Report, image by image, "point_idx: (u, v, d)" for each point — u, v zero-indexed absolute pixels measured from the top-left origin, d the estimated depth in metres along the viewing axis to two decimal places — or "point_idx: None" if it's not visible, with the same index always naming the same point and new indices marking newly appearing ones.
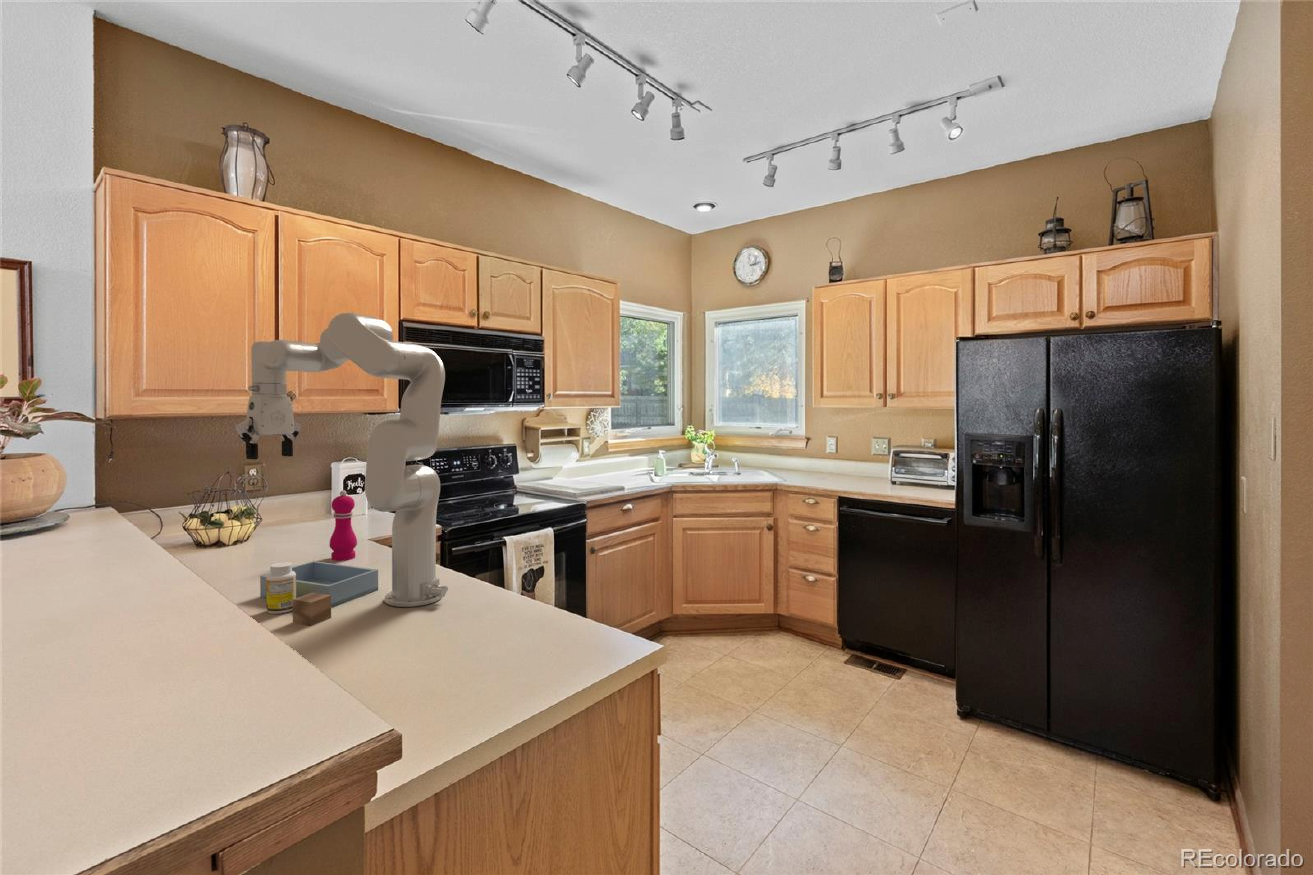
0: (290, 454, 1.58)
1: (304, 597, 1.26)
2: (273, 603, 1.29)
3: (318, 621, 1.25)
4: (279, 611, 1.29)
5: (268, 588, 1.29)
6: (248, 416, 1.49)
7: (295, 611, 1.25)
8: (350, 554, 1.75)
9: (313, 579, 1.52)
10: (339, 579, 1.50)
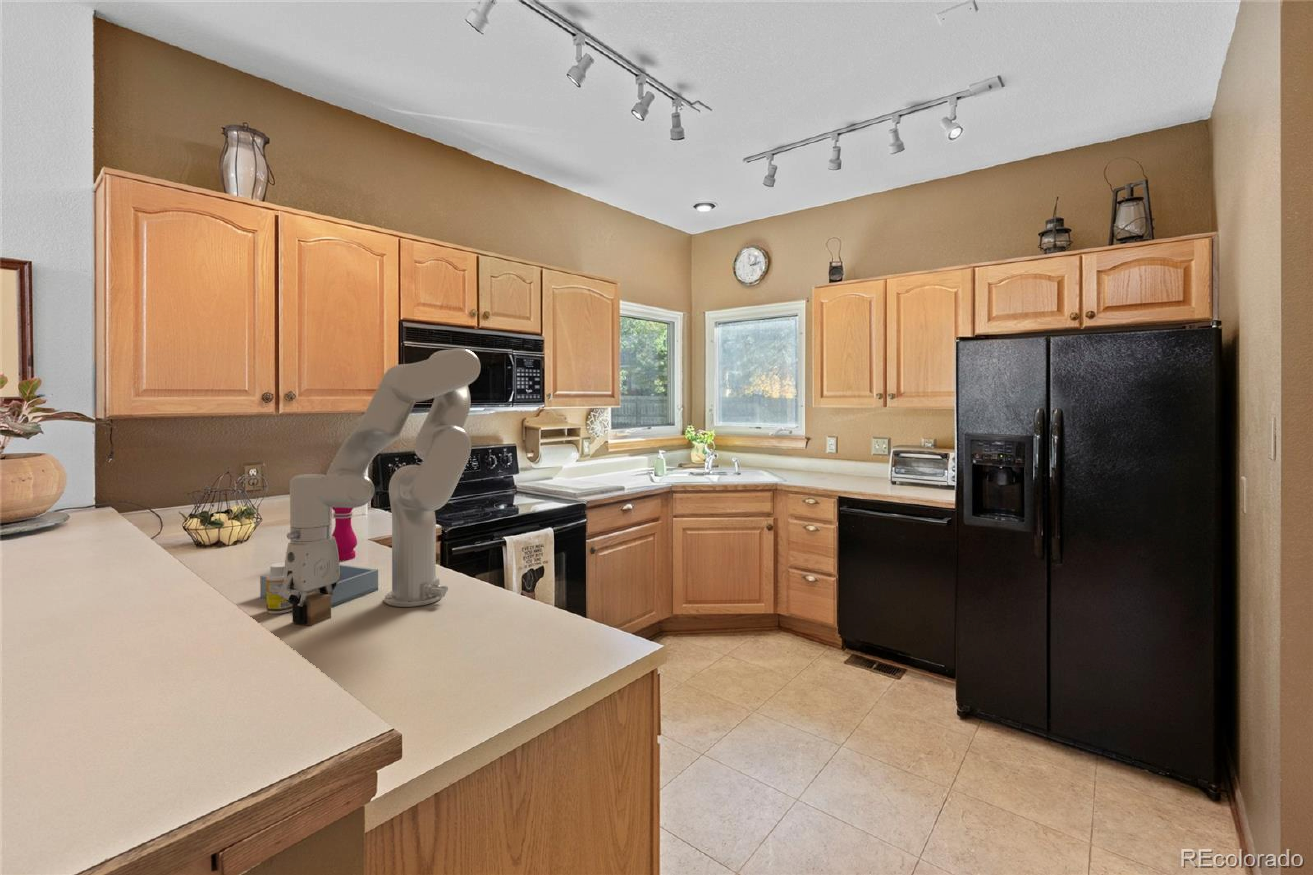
0: None
1: None
2: (273, 603, 1.29)
3: (318, 621, 1.25)
4: (279, 611, 1.29)
5: (268, 588, 1.29)
6: (286, 569, 1.21)
7: None
8: (350, 554, 1.75)
9: None
10: None
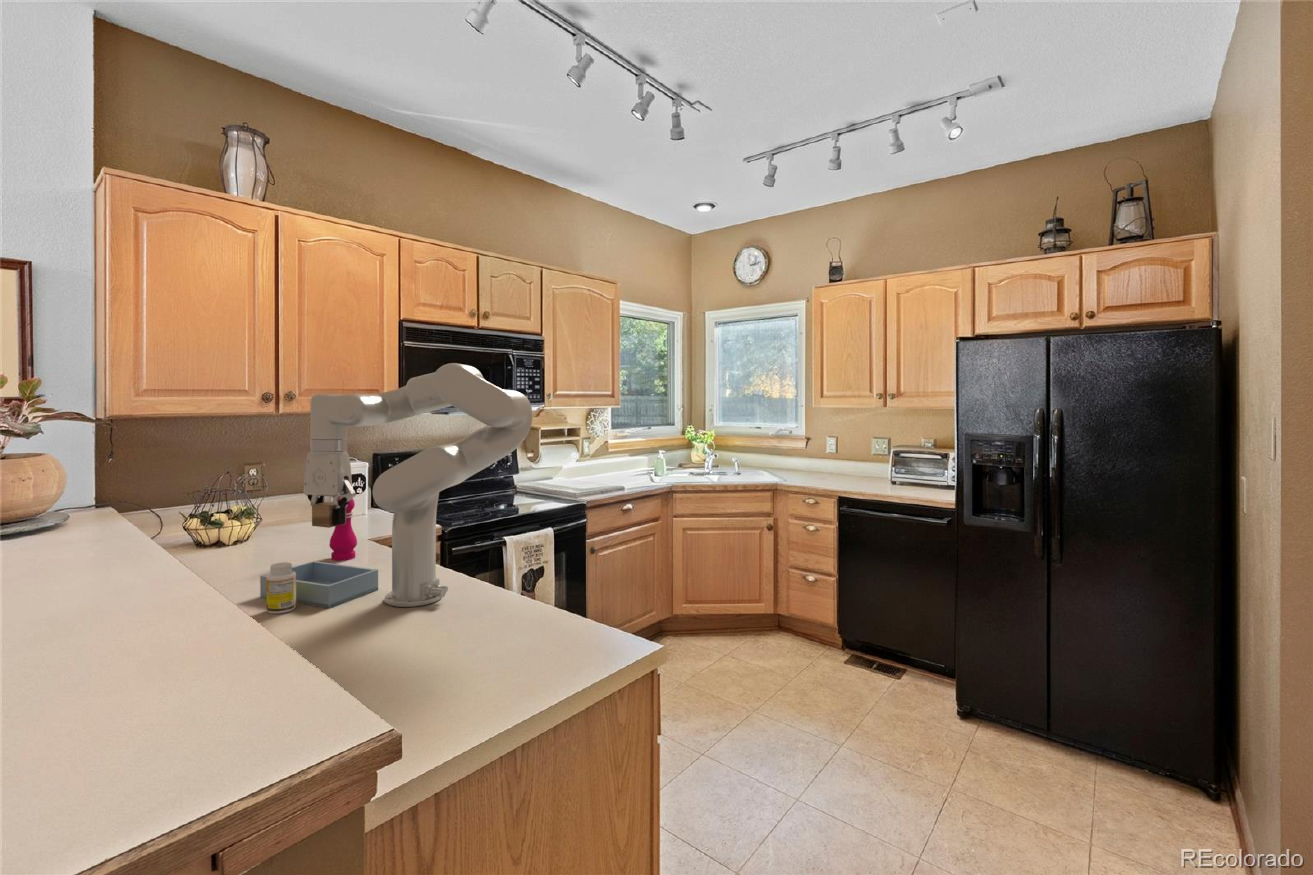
0: None
1: (331, 502, 1.43)
2: (273, 603, 1.29)
3: (318, 524, 1.39)
4: (279, 611, 1.29)
5: (268, 588, 1.29)
6: None
7: None
8: (350, 554, 1.75)
9: (313, 579, 1.52)
10: (339, 579, 1.50)
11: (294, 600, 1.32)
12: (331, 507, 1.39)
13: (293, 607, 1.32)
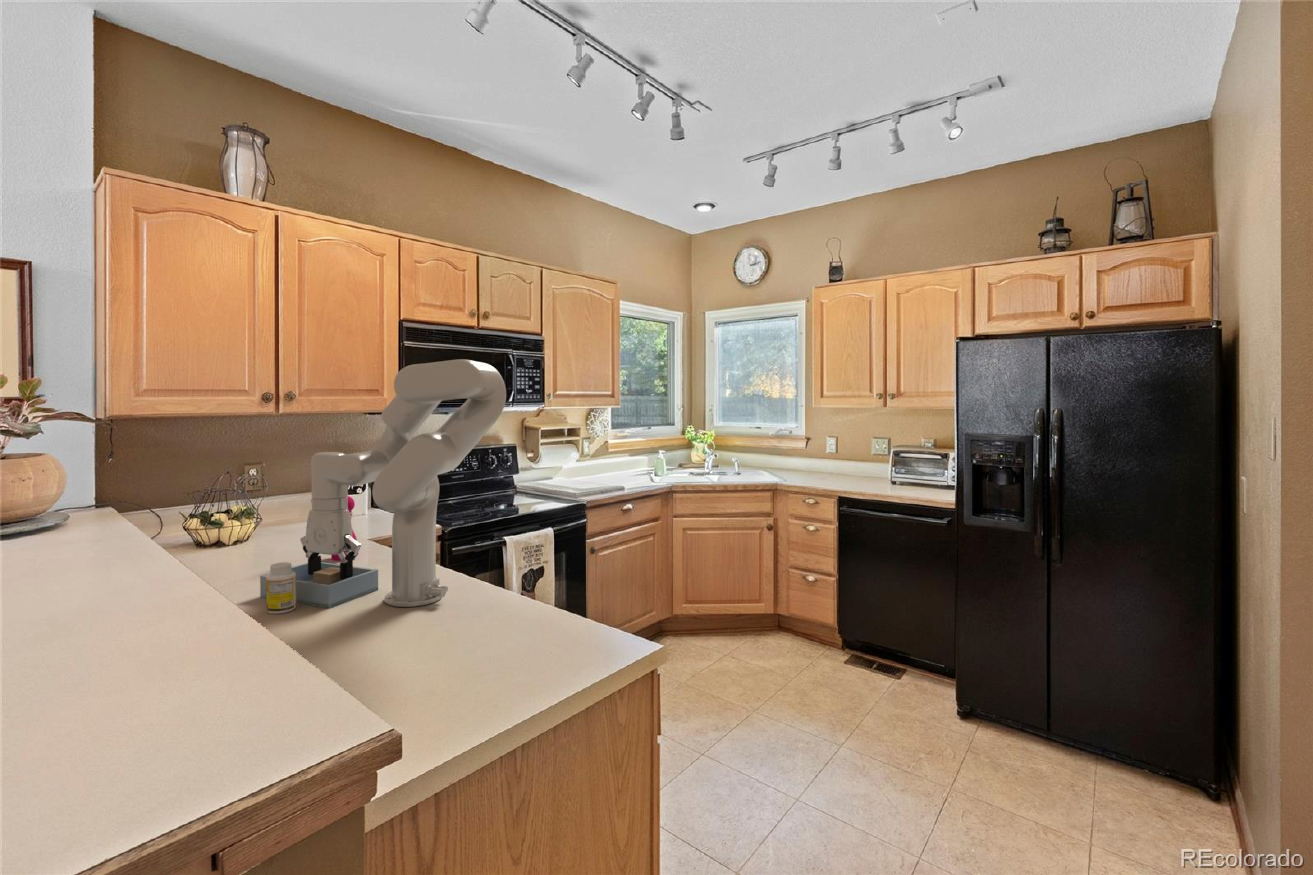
0: None
1: (332, 569, 1.44)
2: (273, 603, 1.29)
3: None
4: (279, 611, 1.29)
5: (268, 588, 1.29)
6: None
7: None
8: None
9: None
10: None
11: (294, 600, 1.32)
12: (332, 575, 1.40)
13: (293, 607, 1.32)
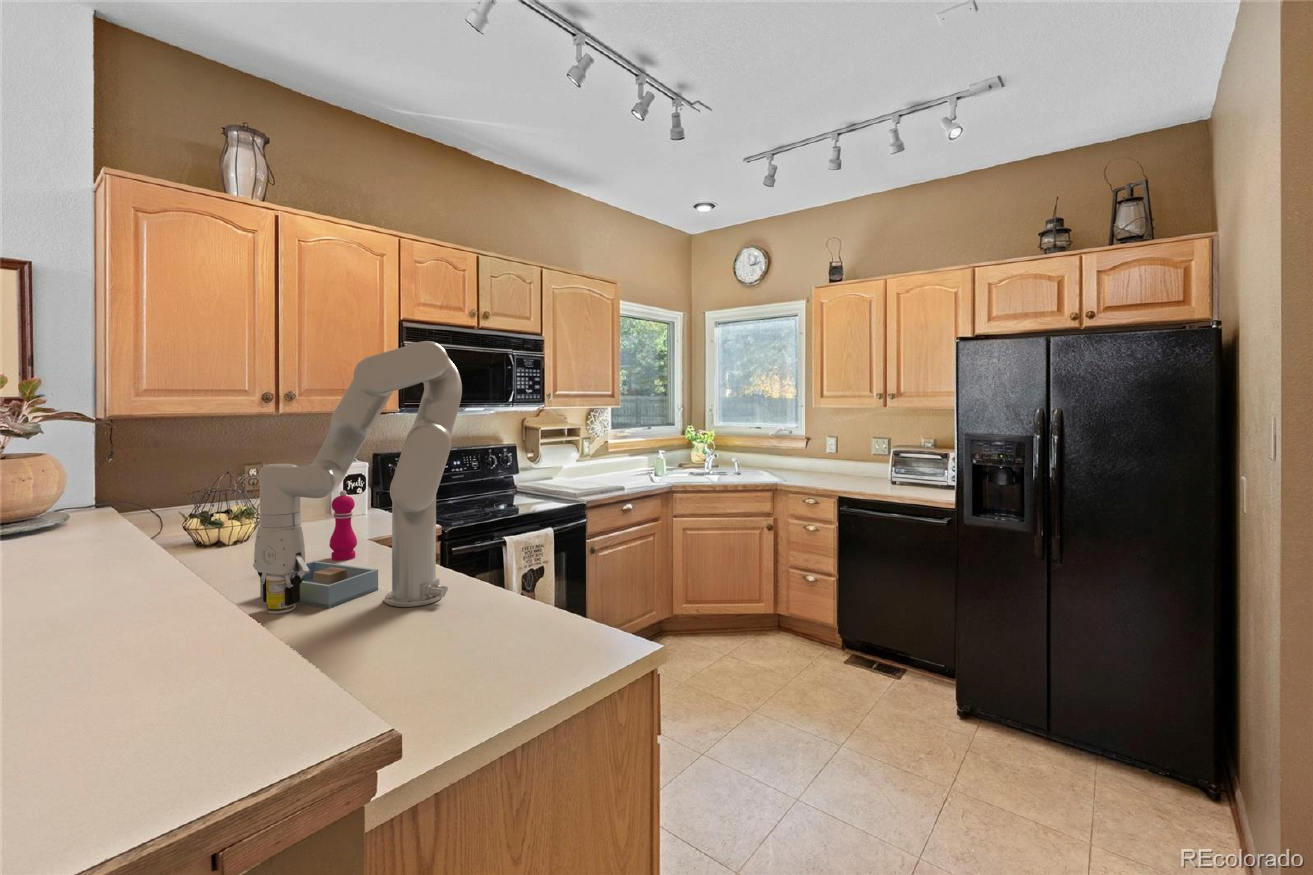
0: None
1: (332, 569, 1.44)
2: (273, 603, 1.29)
3: None
4: (279, 611, 1.29)
5: (268, 588, 1.29)
6: None
7: None
8: (350, 554, 1.75)
9: None
10: None
11: None
12: (332, 575, 1.40)
13: (293, 607, 1.32)
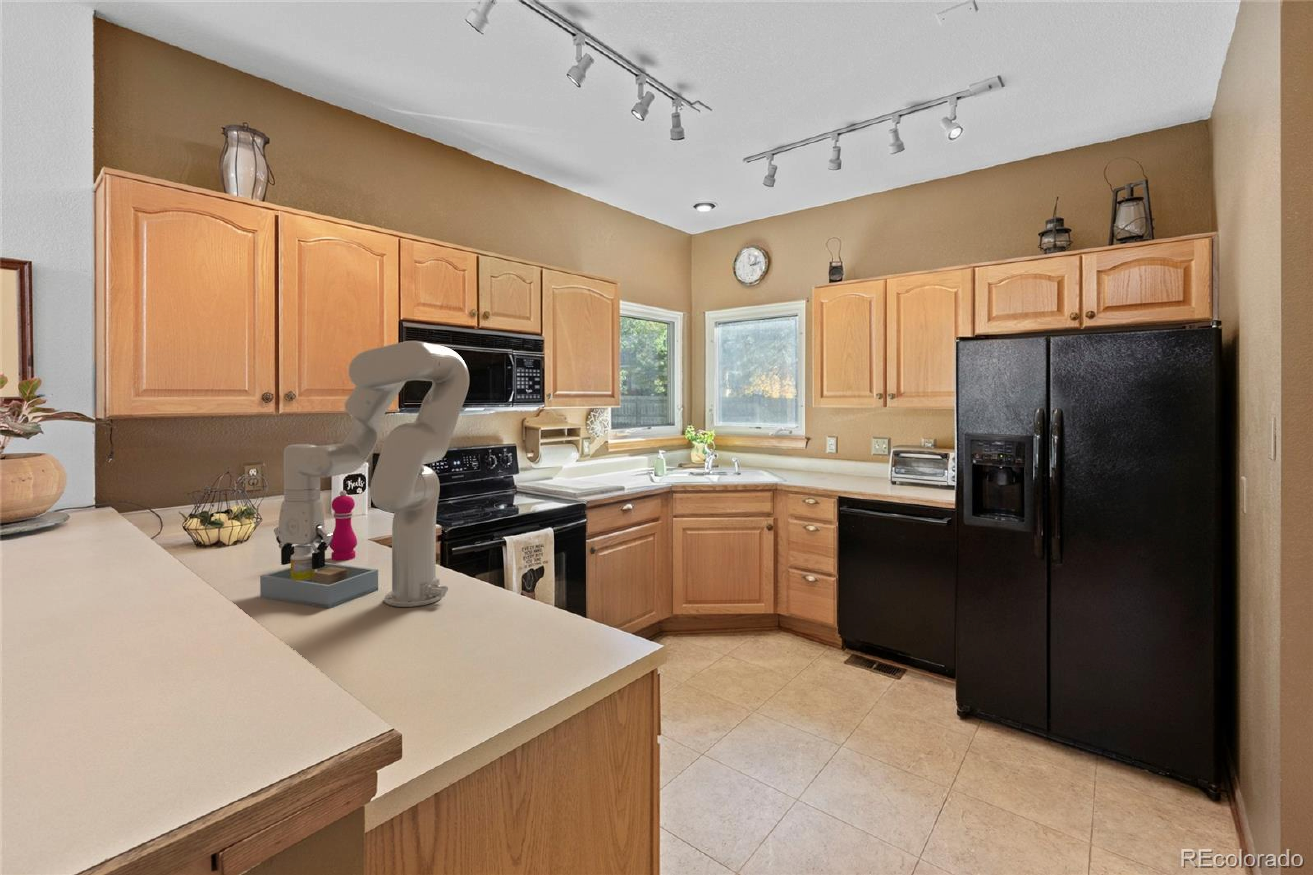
0: (312, 567, 1.42)
1: (332, 569, 1.44)
2: None
3: None
4: None
5: (292, 567, 1.43)
6: None
7: None
8: (350, 554, 1.75)
9: None
10: None
11: None
12: (332, 575, 1.40)
13: None
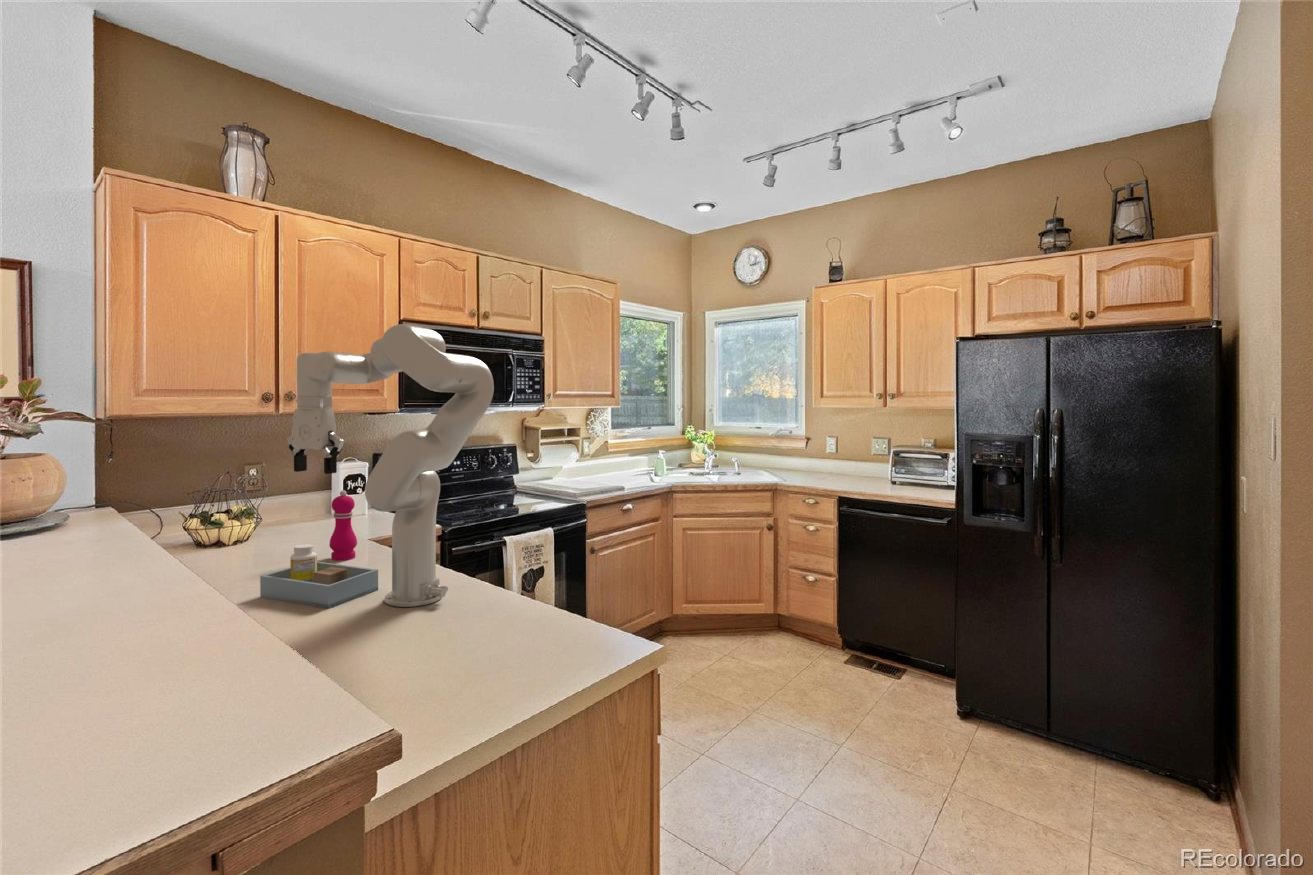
0: None
1: (332, 569, 1.44)
2: None
3: None
4: None
5: (292, 567, 1.43)
6: None
7: None
8: (350, 554, 1.75)
9: None
10: None
11: None
12: (332, 575, 1.40)
13: None
